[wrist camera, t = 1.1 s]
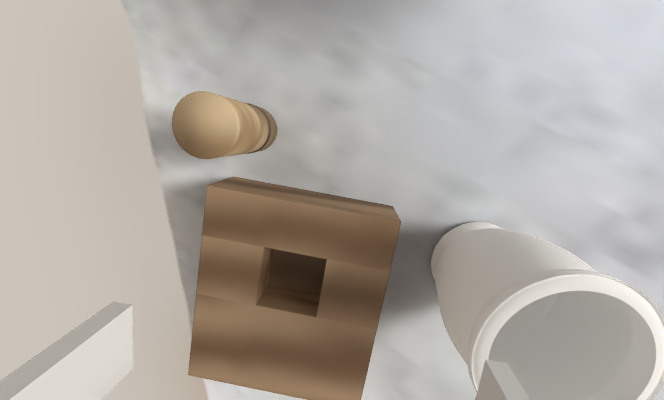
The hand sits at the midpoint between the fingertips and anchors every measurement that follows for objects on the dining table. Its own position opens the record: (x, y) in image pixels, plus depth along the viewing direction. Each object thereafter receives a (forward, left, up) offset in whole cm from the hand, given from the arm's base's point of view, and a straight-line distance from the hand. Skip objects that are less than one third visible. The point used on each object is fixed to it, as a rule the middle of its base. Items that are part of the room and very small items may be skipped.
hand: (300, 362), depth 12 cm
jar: (+2, +14, -21) cm, 26 cm away
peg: (-7, -9, -21) cm, 24 cm away
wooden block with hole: (+7, -3, -21) cm, 22 cm away
